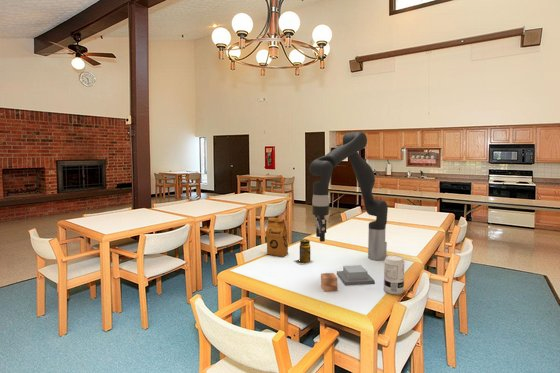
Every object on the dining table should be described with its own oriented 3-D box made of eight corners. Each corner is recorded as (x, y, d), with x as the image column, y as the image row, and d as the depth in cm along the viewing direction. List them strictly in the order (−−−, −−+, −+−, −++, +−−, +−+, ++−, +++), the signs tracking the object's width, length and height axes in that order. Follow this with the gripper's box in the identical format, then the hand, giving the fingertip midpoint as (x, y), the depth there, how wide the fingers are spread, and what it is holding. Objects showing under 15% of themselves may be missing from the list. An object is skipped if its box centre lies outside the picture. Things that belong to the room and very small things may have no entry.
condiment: (313, 261, 186) (313, 240, 185) (301, 265, 182) (301, 243, 180) (305, 258, 192) (305, 238, 191) (293, 261, 188) (293, 240, 186)
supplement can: (380, 287, 151) (381, 255, 149) (398, 287, 151) (399, 254, 150) (388, 295, 143) (388, 261, 141) (406, 294, 143) (407, 260, 142)
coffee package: (282, 258, 193) (281, 220, 191) (264, 255, 199) (263, 218, 197) (290, 253, 202) (290, 217, 199) (273, 250, 208) (272, 215, 205)
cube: (333, 285, 154) (333, 272, 154) (337, 290, 148) (337, 277, 148) (320, 286, 154) (320, 273, 153) (324, 291, 148) (324, 278, 147)
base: (363, 272, 169) (364, 263, 169) (374, 283, 155) (374, 273, 155) (336, 274, 168) (336, 264, 167) (345, 285, 154) (345, 274, 153)
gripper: (332, 206, 147) (331, 243, 149) (325, 201, 161) (325, 235, 163) (315, 207, 146) (315, 243, 148) (309, 202, 161) (309, 235, 162)
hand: (320, 239), depth 155 cm, fingers open, 8 cm apart
